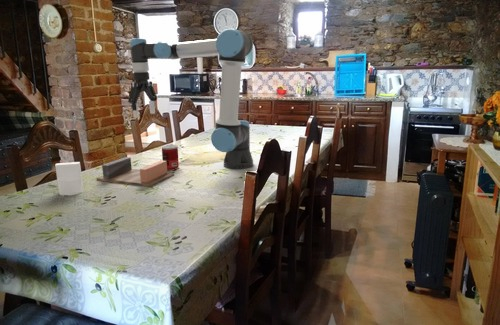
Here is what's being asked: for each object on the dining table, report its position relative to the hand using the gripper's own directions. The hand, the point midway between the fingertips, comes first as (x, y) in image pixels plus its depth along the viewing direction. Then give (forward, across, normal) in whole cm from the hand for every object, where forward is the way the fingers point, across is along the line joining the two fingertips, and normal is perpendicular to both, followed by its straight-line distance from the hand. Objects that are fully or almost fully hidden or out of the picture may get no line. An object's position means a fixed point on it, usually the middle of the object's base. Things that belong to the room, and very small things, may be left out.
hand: (144, 115), depth 187 cm
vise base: (+26, +22, +8) cm, 35 cm away
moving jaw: (+25, +22, +19) cm, 38 cm away
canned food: (+26, +2, +14) cm, 30 cm away
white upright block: (+26, +47, -4) cm, 54 cm away
